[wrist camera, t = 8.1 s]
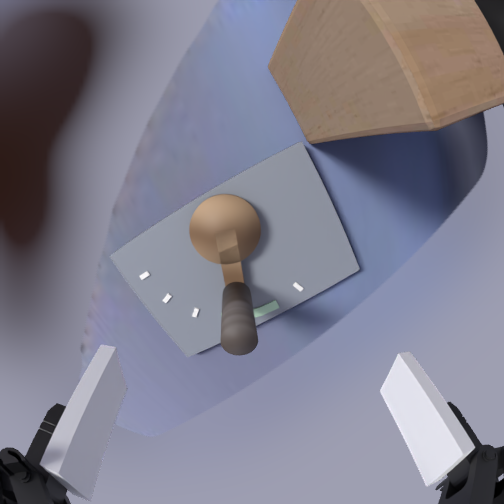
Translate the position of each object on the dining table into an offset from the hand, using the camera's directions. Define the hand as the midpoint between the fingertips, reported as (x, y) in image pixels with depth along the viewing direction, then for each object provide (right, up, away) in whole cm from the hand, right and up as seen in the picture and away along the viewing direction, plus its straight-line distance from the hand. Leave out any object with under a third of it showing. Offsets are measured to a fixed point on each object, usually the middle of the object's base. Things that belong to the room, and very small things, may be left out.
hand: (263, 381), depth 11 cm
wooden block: (+8, +23, +14) cm, 28 cm away
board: (-2, +5, +19) cm, 20 cm away
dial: (-3, +4, +18) cm, 19 cm away
